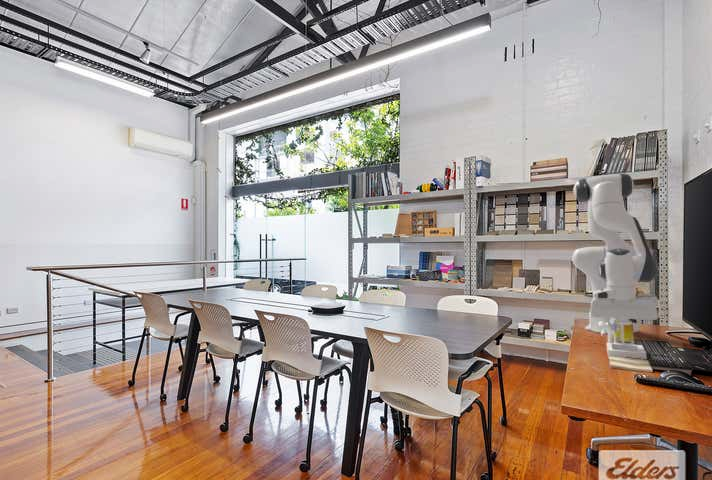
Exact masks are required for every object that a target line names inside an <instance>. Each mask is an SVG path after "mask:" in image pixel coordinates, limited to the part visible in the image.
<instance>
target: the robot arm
mask: <svg viewBox="0 0 712 480" xmlns="http://www.w3.org/2000/svg"><path fill="white" fill-rule="evenodd" d="M633 190H634V180H633V179H632V177H631V175H629V174H627V173H618V174H603V175H599V176H598V175H597V176H593V177H588V178H581V179H577V181H576V182H575V183H574V186H573V190H572V191H573V193H572V194H573V196H574V198H575V200H577V201H578V202H580V203H581V202H583V203H587V202H588V203H587V227H588V234H589V236H591V237H593V238H595V239H598V240H601V241H603V242H604V243H605V245H603V246H601V245H600V246H585V247H580V248H577V249H575V250H574V251H573V254H572V256H571V261H572V263H573V265H574V267H575V268H576V269H578V270H579V271H581V272H582V273H583V274H584V275H585V276H586V277H587V278H588V280H589V282H590V284H591V289H592V290H591V291H592V298H591V302H590V311H589V312H588V319H589V320H588V323H589V324H588V325H586V326H584V327H585V328H584V329H585V330H587V331H592V332H595V333H600V334H601V332H602V329H603V328H602V327H604V326H602V327H601V326H600V325H599V323H600V321H604V322H605V324H606V323H608V324H609V325H610V330H615V325H612V324H611V323H610V318H615V319H616V320H617V318H620V317H626V318H627V319H630V320H635V322H636V323H635V325H633V333H636V332H639V327H640V325H641V324H642V321H643V320H644V321H645V320H647V321H656V320H658V319H659V314H658V309H657V305H658V304H659V302H658V297H657V296H656V295H654V294H652V293H641V292H640V293H639V292H638V293H637V287H636V285H637V284H636V282H638V283H639V282H640V283H650V282H652V281H654V280H655V279H656V278H657V277H658V276H659V266H658V264H657V262H656V259H655V257H654V256H653V253H652V251H651V249H650V246H649V244H648V242H647V239H646V236H645V233H644V230H643V229H642V227H641V224H640V223H639V220H638V219H637V218H636V217H635V216H631V214H630V213H628V211H627V209H626V206H625V202H624V199H626V198H628V197H629V196H630V195H632V193H633ZM620 233H621V234H623V235H624V234H625V235H626V236H628V237H629V239H630V242H631V243H632V245H633V246H632V245H631V244H629V243H628V242H626V241H625V240H624V239H623V238H622V236H621V234H620ZM599 326H600V327H599ZM606 334H607V335H608V332H607V331H606V330H605V335H606Z"/></svg>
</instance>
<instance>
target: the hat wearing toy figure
mask: <svg viewBox="0 0 712 480" xmlns="http://www.w3.org/2000/svg"><path fill="white" fill-rule="evenodd" d="M615 320H616V319H615V318H610V323H611V324H612V325H614V321H615ZM599 325H600V326H601V327H602V326H604V327H602V328H603V329H602V332H601V333H600V336H602V337H603V336H604V335H606V333H605V330H606V331H607V332H608V334H607V343H616V341H615V330H610V325H609V324H608V323H606V324H605V322H604V321H600V323H599ZM600 326H599V327H600Z"/></svg>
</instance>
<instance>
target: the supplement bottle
mask: <svg viewBox="0 0 712 480" xmlns="http://www.w3.org/2000/svg"><path fill="white" fill-rule="evenodd" d="M614 325H615V341H616V343H618V344H622V345H635V344H634V343H635V340H634V339H635V337H634V336H635V335H634V332H633V326H634V323H633V321H631V319H627V318H626V317H620V318H617V320H615V321H614Z"/></svg>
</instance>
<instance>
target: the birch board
mask: <svg viewBox="0 0 712 480" xmlns="http://www.w3.org/2000/svg"><path fill="white" fill-rule="evenodd" d="M608 361H609V366H610V369H616V370H625V371H637V372H644V373H645V372H647V373H653V368H652V366H651V363H650V362H649V360H648V359H647V360H643V359H632V358H621V357H608Z"/></svg>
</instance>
